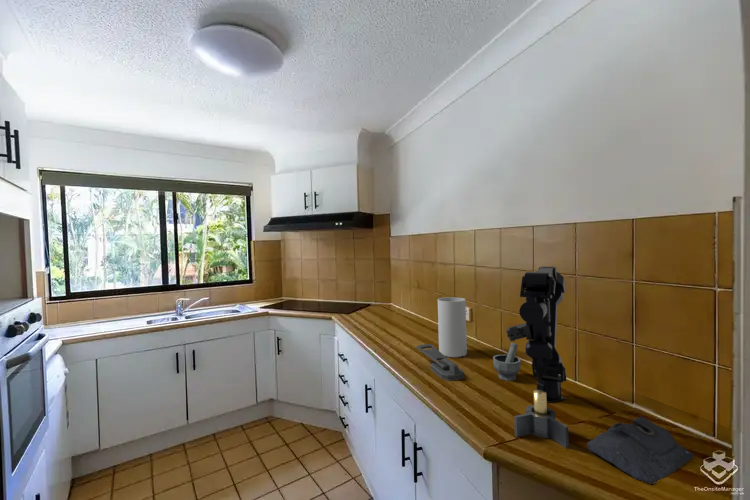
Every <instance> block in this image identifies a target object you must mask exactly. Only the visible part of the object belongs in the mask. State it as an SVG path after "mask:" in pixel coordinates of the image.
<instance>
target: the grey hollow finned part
mask: <svg viewBox="0 0 750 500" xmlns="http://www.w3.org/2000/svg"><path fill="white" fill-rule="evenodd" d="M525 409H526V410H525V413H523V414H518V415H514V417H513V418H514V419H513V420H514V436H515V437H516V438H520V437H523V436H528V435H533V436H535V437H539V438H543V439H552V440H553V441H554V442H556V443H558V444H559V445H561V446H562V447H563V448H565V449H569V448H570V447H569V445H570V443H569V441H570V439H569V426H568V425H566V424H564V423H562V422H561V421H559V420H557V419H556V418H557V416H556V415H557V414H556V411H554V410H553V409H551V408H550V407H548V406H547V416H541V415H536V414H535V413H534V404H532V405H528V406H527V405H526V408H525Z"/></svg>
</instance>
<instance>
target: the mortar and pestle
mask: <svg viewBox="0 0 750 500" xmlns="http://www.w3.org/2000/svg"><path fill="white" fill-rule="evenodd" d="M518 347H519V344H517V343H514V342H511V343H510V347H509V350H508V353H507V354H496V355H493V356H492V363H493V367H494V370H495V371H496V372H497V373H498V379H500V380H504V381H506V382H507V381H510V382H512V381H516V380H517V376H516V375H517V374H518V373H519V372H520V370H521V366H522V365H521V364H522V363H521V358H519V357H517V356H516V353H517V350H518Z"/></svg>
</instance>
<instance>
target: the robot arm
mask: <svg viewBox="0 0 750 500" xmlns="http://www.w3.org/2000/svg"><path fill="white" fill-rule="evenodd" d="M565 282H566V281H565V277H564V276H563V275H562V274H561V273H560V272H558V270H557V267H555V266H541V267H538V269H537V271H535V272H534V271H525V272H524V275H522V278H521V283H520V291H519V292H520V293H519V297H520V298H525V302H524V303H522V304H521V306H520V308H519V316H520V318H521V319H522V321H524V323H521V324H516V325H512V326H509V327H507V329H506V335H507V338H508V339H509V341H510V342H515V341H516V340H521V339H526V340H528V341H527V342H526V343H525V354H526V356H527V357H529V358H531V360H532V362H531V366H532V367H531V368H532V376H533V378H536V379H537V380H536V381H537V382H536V390H542V391H545V392H546V401H547V403H553V402H559V401H564V400H566V397H565V396H563V395H562V384H563V383H565V382H568V381H567V371H566V369H567V368H566V367H565V365H564V362H562V357H561V356H560V354H559V352H558V350H557V330H558V329H557V328H558V327H557V326H558V325H557V324H558V306H559V304H560V303H561V302H562V301H563V300H564V294H565V293H566V283H565Z"/></svg>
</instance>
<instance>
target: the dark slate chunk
mask: <svg viewBox="0 0 750 500" xmlns="http://www.w3.org/2000/svg"><path fill="white" fill-rule="evenodd" d="M631 422H632V423H633V424H631V423H629V422H628V423H621V422H616V423H614V424H613V425H612V426H610V428H608V429H607V430H606V431H605V432H602V433H599V434H598V435H597V436H595V438H593V439H591V440H589V441H588V442H587V443H586V447H587V449H588V450H589V451H590V452H592V453H593V454H595V455H597V456H598V457H600V458H602V459H604V460H605V461H607V462H608V463H609V464H612V465H614V466H615V467H616V468H618V470H621V471H622V472H624V473H625V474H627V475H629V476H631V477H632V478H633V479H635V478H636V479H635V480H638V481H640V480H641V481H640V482H642V481H643V483H645V482H647V483H646V484H648V483H649V485H650V484H653V483H654V482H657V481H658V480H661V479H663V480H664V478H667V476H669V475H671V474H672V473H674V472H676V471H677V470H678V469H680V468H681V467H682V466H683V465H685V464H686V463H688V462H689V461H691V460H692V459H694V458H695V455H694V454H693V452H691V451H689V450H687V449H686V447H685V446H683V445H680V444H679V443H677V442H676V440H675V439H674V436H672V434H671V433H670V432H669V431H668V430H667V429H666V428H664V427H661V426H660V425H658V424H656V423H653V422H652V421H651V420H649V419H648V418H646V417H644V416H638V417H637V418H634V419H633V420H632V421H631ZM654 484H655V483H654ZM654 484H653V485H654Z"/></svg>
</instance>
